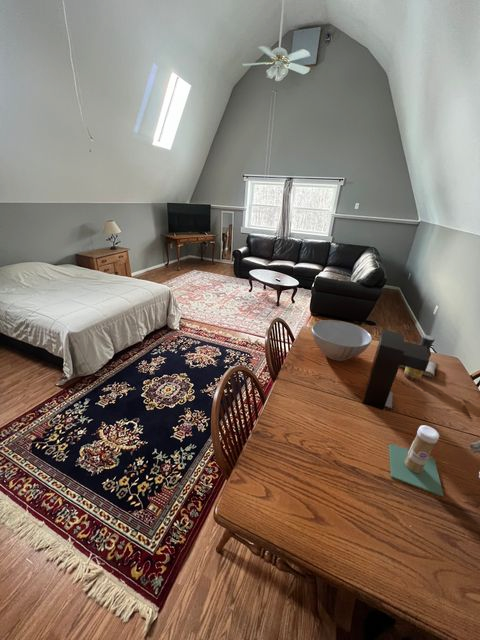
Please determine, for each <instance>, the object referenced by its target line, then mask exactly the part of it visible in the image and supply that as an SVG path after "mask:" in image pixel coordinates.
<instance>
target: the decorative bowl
mask: <svg viewBox="0 0 480 640" xmlns="http://www.w3.org/2000/svg"><path fill="white" fill-rule="evenodd" d="M311 335H312V338H313V341H314V343H315V345H316V347H317V348H318V349H319V350H320V351H321V352H322V353H323V355H324V356H325V357H327V358H328V359H330V360H334V361H339V362H343V361H347V359H348V360H349V359H352V358H356V357H358V356H359V355H361V354H362V353H364V352H365V351H366V350H367V349H368V347H369V346H370V345H371V344H372V341H373V337H372V335H371V333H370V332H368V331H367V330H366V329H364V328H363V327H361V326H359V325H357V324H355V323H351V322H347V321H342V320H334V319H327V320H326V319H325V320H319V321H317V322H315V323H314V324H312V326H311Z"/></svg>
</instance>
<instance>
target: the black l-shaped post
mask: <svg viewBox="0 0 480 640" xmlns="http://www.w3.org/2000/svg"><path fill="white" fill-rule="evenodd" d="M429 361H430V358H429V357H428V352H427V347H426V346H422V345H420V344H419V343H418V344H417V343H414V342H410V341H405V334H404V333H401V332H395V331H391V330H388V329H382V331H381V335H380V338H379V341H378V344H377V347H376V350H375V354H374V357H373V360H372V364H371V367H370V371H369V374H368V377H367V380H366V384H365V390H364V395H363V400H362V404H363V405H365V406H368V407H371V408H374V409H377V410H380V411H385V409H387V410H390V411H391V410H392V409H393V395H394V393H393V392H392V391H391V390H392V388H393V385H394V382H395V379H396V376H397V374H398V371H399V369H400V366H399V365H403V366H406V367H410V368H413V369H417V370H421V371H424V372H425V371H426V368H427V366H428V363H429Z"/></svg>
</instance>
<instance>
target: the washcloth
mask: <svg viewBox="0 0 480 640" xmlns="http://www.w3.org/2000/svg"><path fill="white" fill-rule="evenodd" d="M400 367H401V368H404V369H406V366H403V365H399V368H400ZM436 368H437V364H436V363H435V362H433V361H431V360H429V363H428V366H427V368H426V371H425V372H424V371H423V374H422V376H426V377H429V378H433V377H434V376H435V370H436Z"/></svg>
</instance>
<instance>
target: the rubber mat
mask: <svg viewBox="0 0 480 640" xmlns="http://www.w3.org/2000/svg"><path fill="white" fill-rule="evenodd" d="M409 450H410V449H408V448H404V447H402V446H400V445H399V446H398V445H396V444H393V443H388V453H389V467H390V468H389V469H390V477H391V478H392V479H394V480H397V481H399V482H402V483H405V484H408V485H410V486H413V487H416V488H418V489H420V490H423V491H426V492H428V493H431V494H434V495H436V496H439V497H442V498H444V492H443V488H442V484H441V479H440V475H439V471H438V467H437V463H436V459H435V458H434V457H432V456H429V458H428V460H427V462H426V464H425V465H424V467H423V471H422V472H420V473H416V472H413V471H411V470H410V469H408V468H407V466H406V465H405V459H406V458H407V456H408V452H409Z"/></svg>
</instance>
